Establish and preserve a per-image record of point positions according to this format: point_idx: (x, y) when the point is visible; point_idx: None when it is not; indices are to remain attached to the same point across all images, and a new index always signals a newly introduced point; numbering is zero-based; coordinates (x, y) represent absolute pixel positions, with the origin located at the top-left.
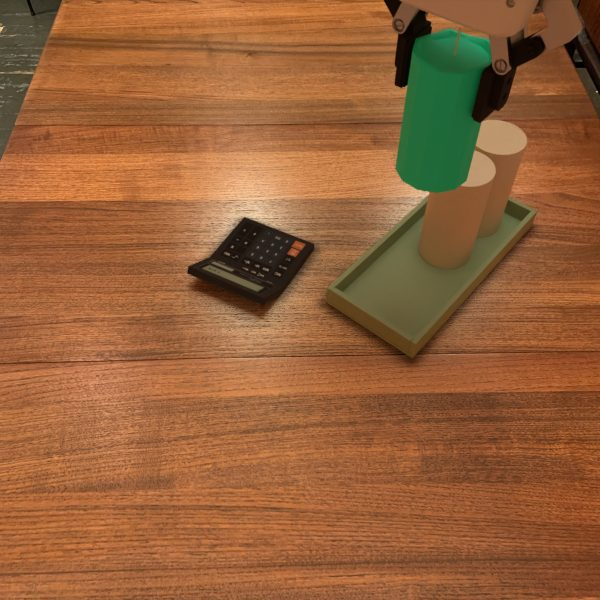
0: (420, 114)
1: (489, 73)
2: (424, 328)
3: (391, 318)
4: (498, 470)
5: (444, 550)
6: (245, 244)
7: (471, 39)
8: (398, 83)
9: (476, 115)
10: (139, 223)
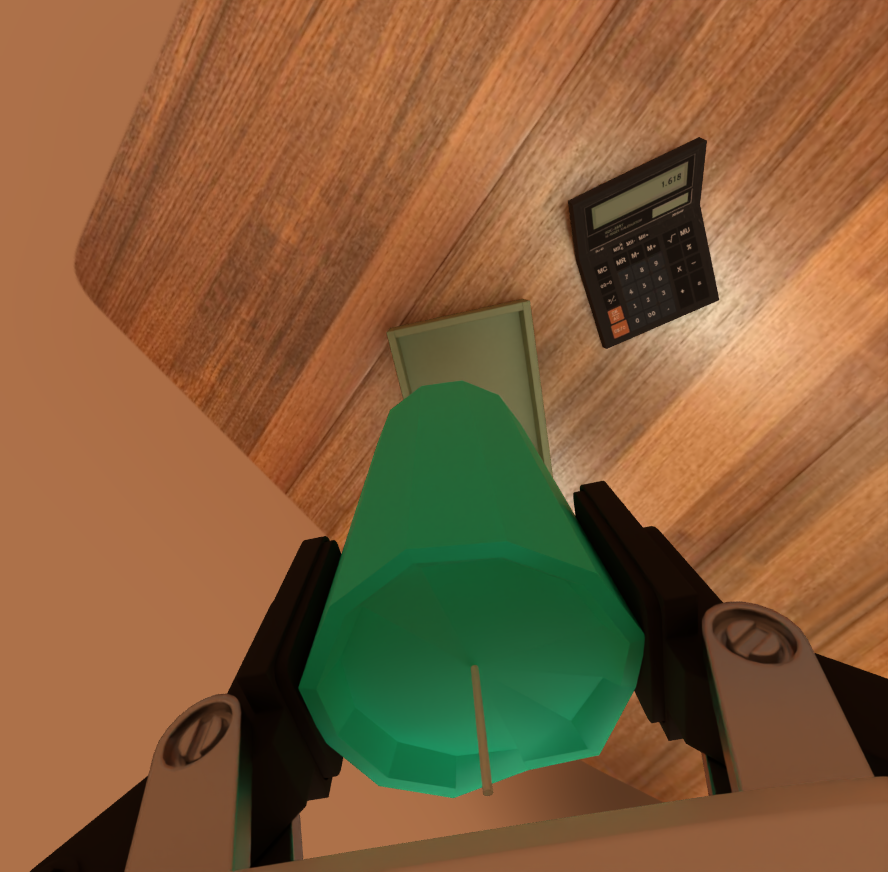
0: (451, 449)
1: (246, 676)
2: (398, 358)
3: (448, 347)
4: (220, 300)
5: (169, 171)
6: (677, 266)
7: (504, 760)
8: (591, 486)
9: (311, 547)
10: (842, 155)
